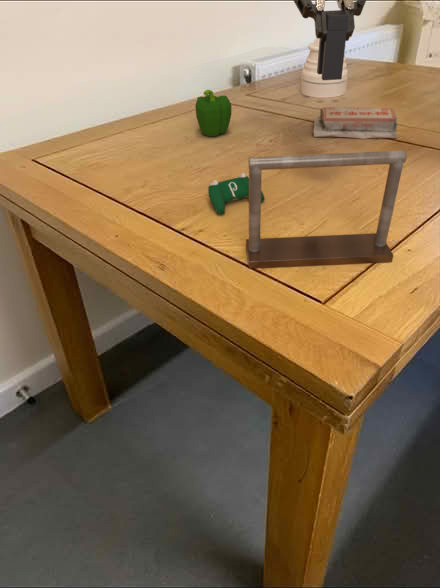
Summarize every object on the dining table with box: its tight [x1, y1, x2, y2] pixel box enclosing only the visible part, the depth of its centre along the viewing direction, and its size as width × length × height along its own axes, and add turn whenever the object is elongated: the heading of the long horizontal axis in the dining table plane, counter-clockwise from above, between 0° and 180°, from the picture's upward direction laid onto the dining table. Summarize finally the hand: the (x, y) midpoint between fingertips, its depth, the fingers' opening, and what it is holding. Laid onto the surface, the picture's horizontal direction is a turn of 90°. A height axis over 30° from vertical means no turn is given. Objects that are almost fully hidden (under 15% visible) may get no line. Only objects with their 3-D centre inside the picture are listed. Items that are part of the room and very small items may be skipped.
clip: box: [317, 9, 348, 80], centre depth 74 cm, size 5×3×9 cm, turn 1°
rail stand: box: [245, 149, 407, 270], centre depth 63 cm, size 20×6×15 cm, turn 92°
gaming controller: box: [207, 172, 266, 215], centre depth 80 cm, size 9×4×6 cm
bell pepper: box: [194, 89, 232, 138], centre depth 106 cm, size 8×8×10 cm
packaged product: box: [312, 106, 398, 140], centre depth 105 cm, size 18×5×10 cm
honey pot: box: [299, 36, 349, 99], centre depth 128 cm, size 13×13×18 cm
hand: (335, 37), depth 72 cm, fingers closed on clip, 3 cm apart
